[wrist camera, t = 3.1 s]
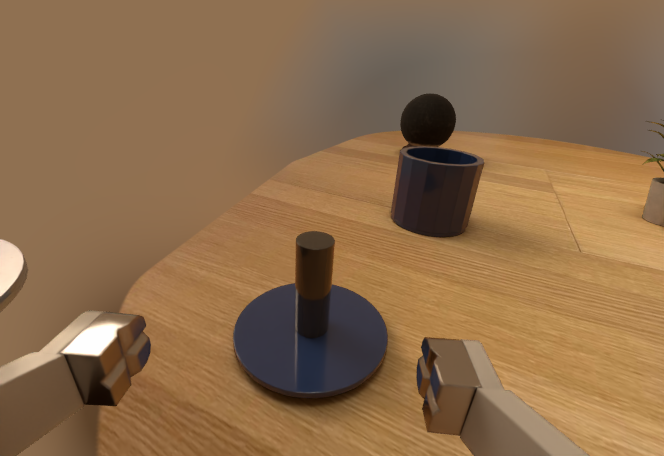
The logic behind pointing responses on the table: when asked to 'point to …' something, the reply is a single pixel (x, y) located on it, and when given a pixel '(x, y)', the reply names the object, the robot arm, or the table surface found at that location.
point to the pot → (435, 190)
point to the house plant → (655, 196)
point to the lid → (310, 330)
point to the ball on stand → (428, 121)
